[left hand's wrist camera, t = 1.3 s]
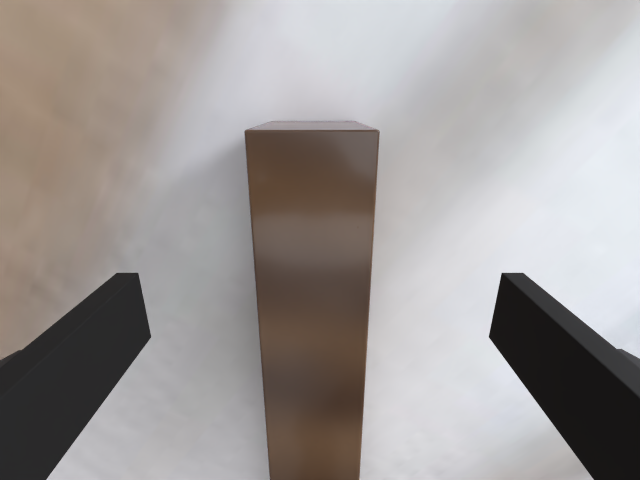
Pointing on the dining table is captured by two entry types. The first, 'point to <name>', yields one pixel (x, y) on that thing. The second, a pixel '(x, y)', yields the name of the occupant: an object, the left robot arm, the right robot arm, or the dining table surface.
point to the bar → (313, 289)
